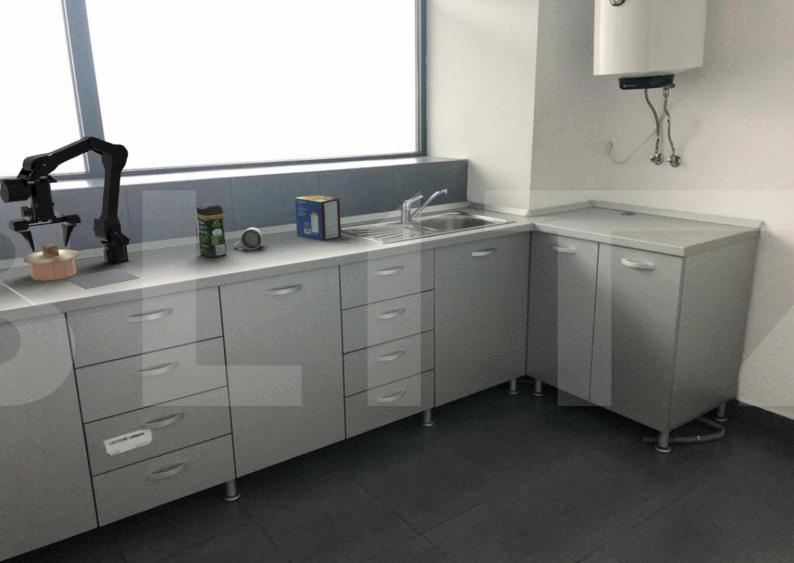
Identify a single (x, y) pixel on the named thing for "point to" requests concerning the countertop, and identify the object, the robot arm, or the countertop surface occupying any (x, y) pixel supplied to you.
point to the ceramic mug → (250, 239)
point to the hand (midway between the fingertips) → (49, 249)
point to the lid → (50, 255)
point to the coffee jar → (211, 229)
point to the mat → (102, 278)
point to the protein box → (318, 217)
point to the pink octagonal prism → (53, 270)
